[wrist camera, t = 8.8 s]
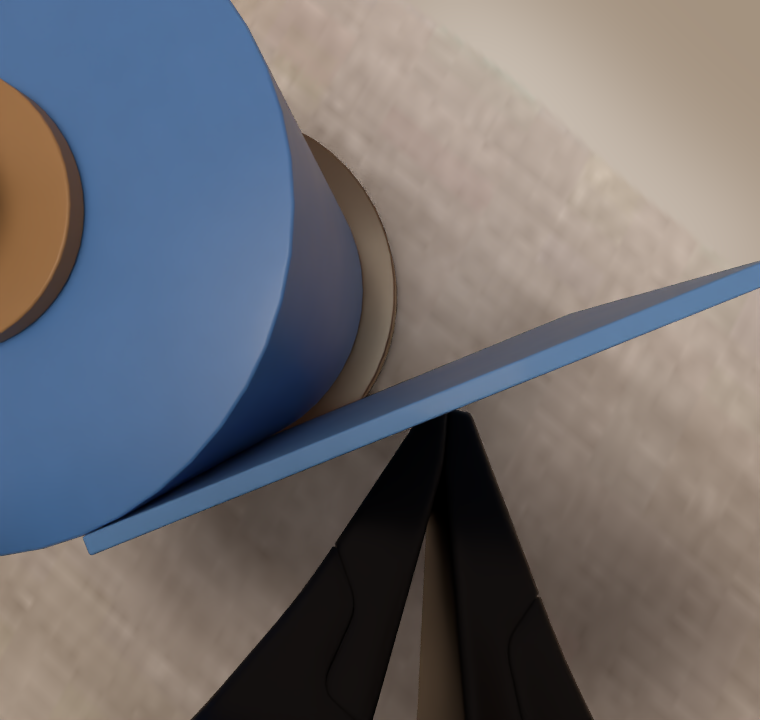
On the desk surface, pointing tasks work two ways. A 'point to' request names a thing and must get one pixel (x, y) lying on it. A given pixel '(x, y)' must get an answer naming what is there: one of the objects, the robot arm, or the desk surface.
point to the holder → (375, 284)
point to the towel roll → (194, 280)
